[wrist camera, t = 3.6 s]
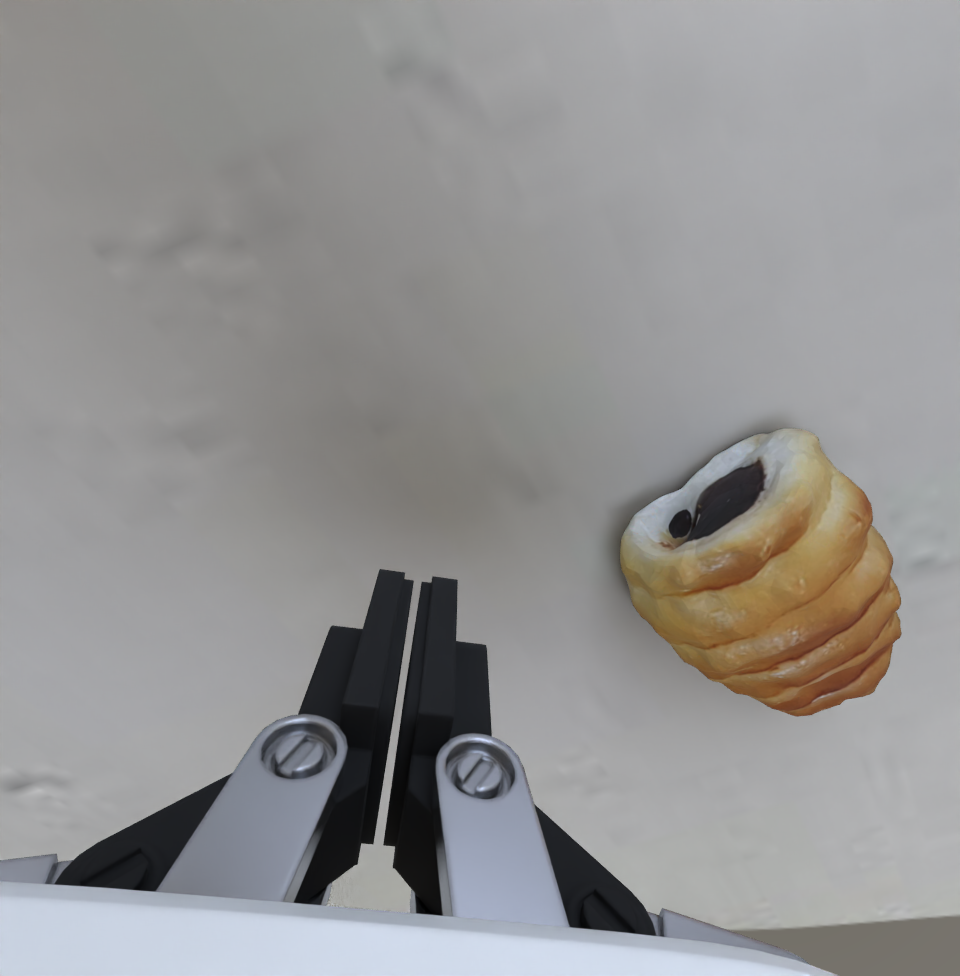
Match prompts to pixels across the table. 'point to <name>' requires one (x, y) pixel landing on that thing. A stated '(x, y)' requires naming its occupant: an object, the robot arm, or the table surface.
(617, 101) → the table surface
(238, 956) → the robot arm
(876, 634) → the pastry
